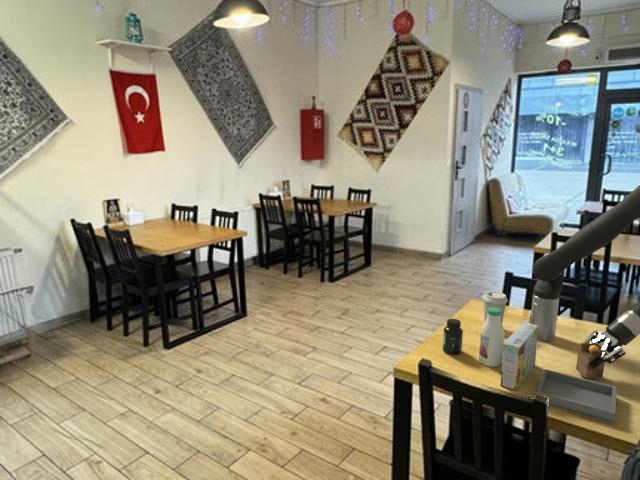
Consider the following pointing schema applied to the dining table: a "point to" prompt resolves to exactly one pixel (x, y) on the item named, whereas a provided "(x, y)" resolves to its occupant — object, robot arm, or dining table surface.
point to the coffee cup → (494, 302)
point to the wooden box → (586, 358)
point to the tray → (579, 395)
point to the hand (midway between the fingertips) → (585, 361)
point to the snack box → (519, 355)
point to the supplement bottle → (452, 337)
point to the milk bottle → (492, 339)
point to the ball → (593, 347)
